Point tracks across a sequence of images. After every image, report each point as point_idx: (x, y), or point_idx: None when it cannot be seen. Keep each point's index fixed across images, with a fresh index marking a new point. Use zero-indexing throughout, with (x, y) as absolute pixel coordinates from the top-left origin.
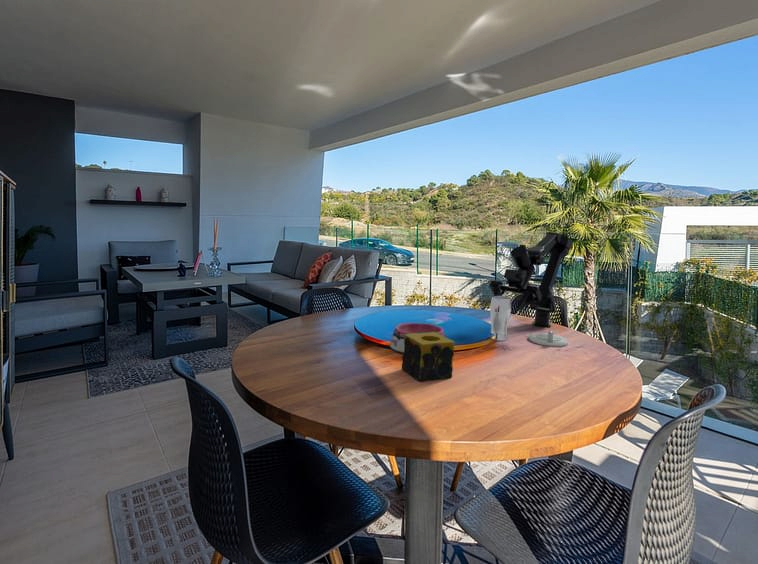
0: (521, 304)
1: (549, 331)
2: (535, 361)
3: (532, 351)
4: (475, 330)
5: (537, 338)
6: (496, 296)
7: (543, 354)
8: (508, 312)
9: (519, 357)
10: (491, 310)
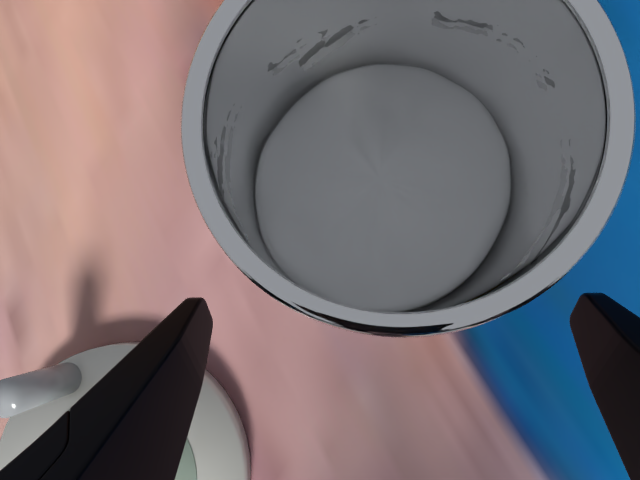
0: (114, 377)
1: (19, 404)
2: (24, 23)
3: (101, 163)
4: (610, 297)
5: None
6: (592, 190)
7: (40, 162)
8: (252, 173)
9: (101, 11)
10: (440, 75)
